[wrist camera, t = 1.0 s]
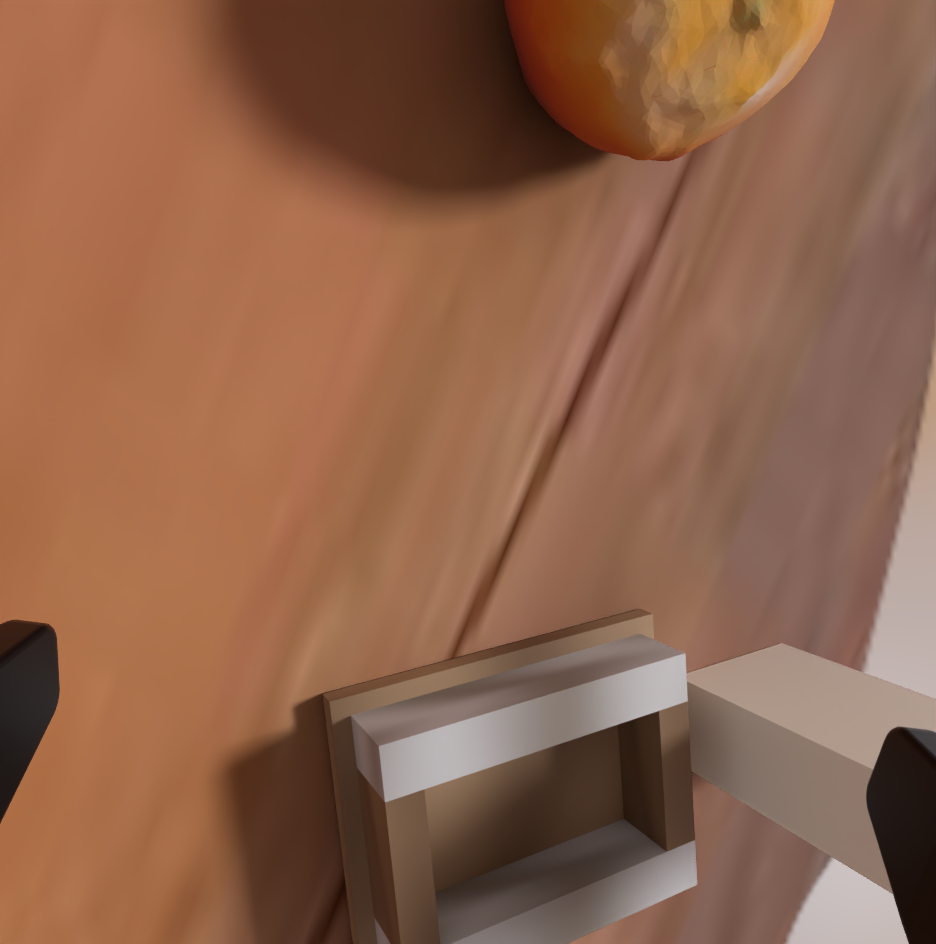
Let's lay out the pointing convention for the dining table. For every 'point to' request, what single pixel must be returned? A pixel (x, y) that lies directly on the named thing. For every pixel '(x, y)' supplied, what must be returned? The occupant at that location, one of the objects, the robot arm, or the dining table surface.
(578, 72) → the fruit
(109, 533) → the dining table surface
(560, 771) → the track
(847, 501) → the dining table surface
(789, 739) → the tall cream box
